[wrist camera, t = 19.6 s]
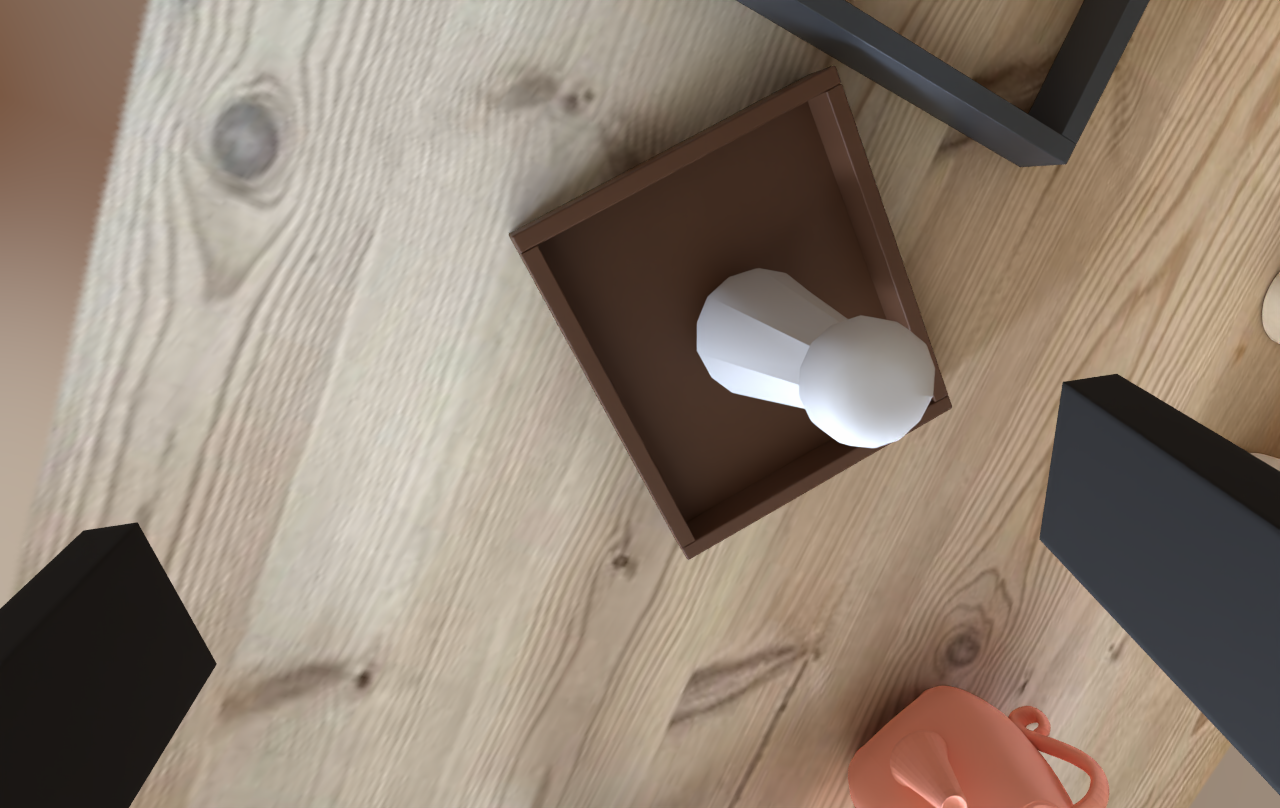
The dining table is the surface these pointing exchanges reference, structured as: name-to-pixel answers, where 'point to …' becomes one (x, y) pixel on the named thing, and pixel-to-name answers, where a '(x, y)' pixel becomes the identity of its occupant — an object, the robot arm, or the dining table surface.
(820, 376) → the salt shaker
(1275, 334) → the candle
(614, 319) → the tray
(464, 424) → the dining table surface
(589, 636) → the dining table surface
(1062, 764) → the dining table surface
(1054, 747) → the teapot
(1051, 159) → the open gray frame
